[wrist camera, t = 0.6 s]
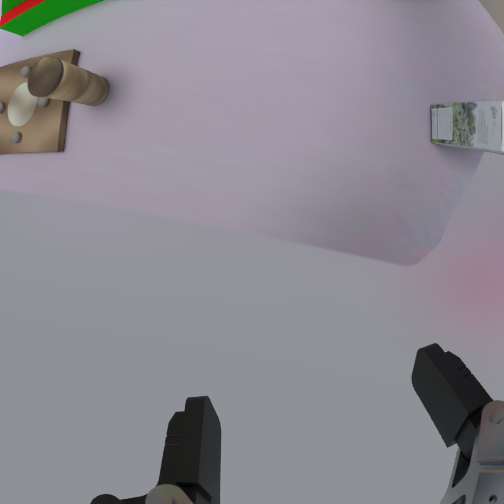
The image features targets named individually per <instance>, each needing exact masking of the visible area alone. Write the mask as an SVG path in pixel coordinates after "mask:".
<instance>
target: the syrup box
mask: <svg viewBox="0 0 504 504" xmlns="http://www.w3.org/2000/svg"><path fill="white" fill-rule="evenodd" d="M431 142H432V143H435V144H440V145H445V146H450V147H455V148H462V149H472V150H480V151H485V152H491V153H497V154H501V155H504V101H475V102H459V103H447V104H438V105H431Z"/></svg>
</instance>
